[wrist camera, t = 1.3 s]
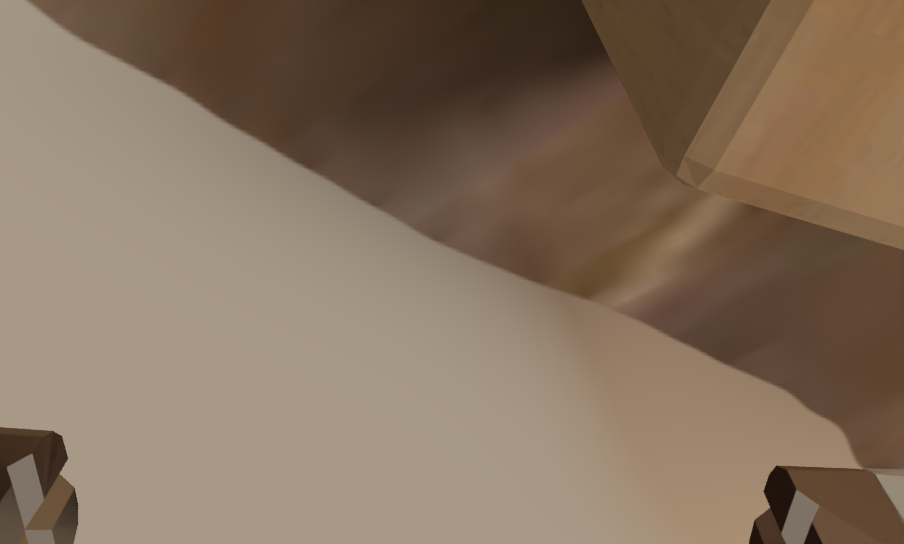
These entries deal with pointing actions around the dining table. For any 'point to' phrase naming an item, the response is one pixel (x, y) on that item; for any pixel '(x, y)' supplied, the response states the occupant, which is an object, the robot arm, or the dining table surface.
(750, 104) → the wooden block
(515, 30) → the dining table surface
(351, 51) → the dining table surface
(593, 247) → the dining table surface
